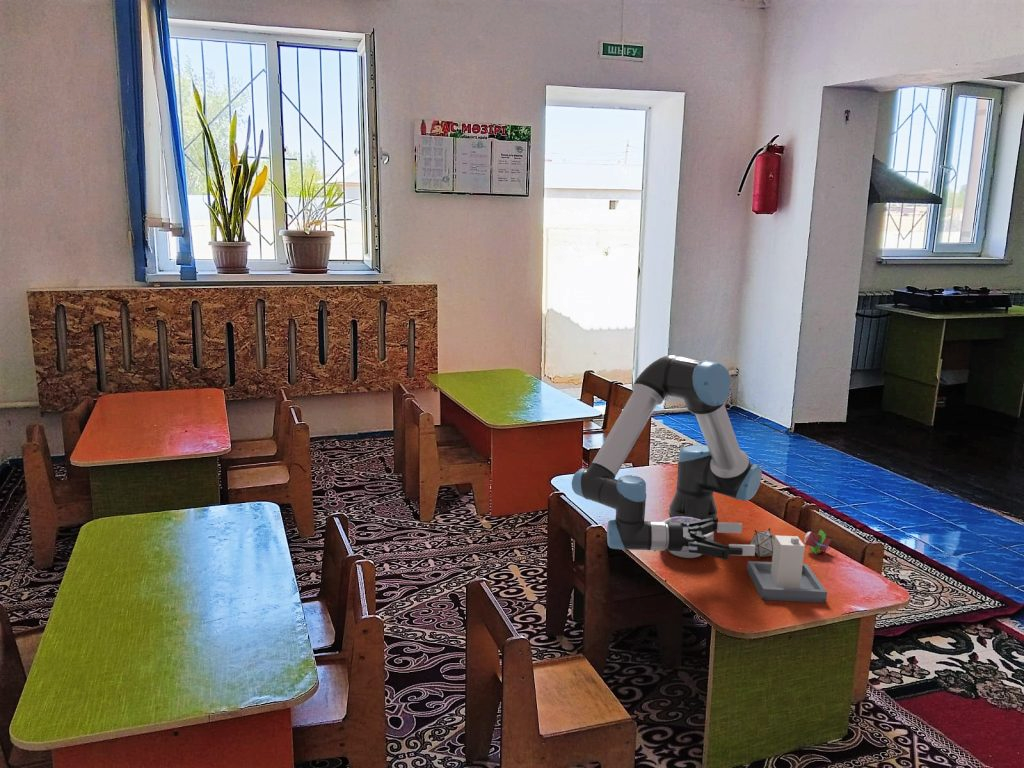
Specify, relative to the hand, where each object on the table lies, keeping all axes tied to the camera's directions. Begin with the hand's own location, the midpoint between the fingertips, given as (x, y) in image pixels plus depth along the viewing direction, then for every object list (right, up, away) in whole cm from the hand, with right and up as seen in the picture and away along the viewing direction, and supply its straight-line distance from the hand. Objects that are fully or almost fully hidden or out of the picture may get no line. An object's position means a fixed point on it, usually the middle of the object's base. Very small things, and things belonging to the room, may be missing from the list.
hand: (748, 538), depth 201 cm
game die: (+10, -9, +20) cm, 24 cm away
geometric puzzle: (+28, -9, +24) cm, 38 cm away
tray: (+10, -13, +2) cm, 17 cm away
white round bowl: (-11, -8, +22) cm, 26 cm away
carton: (+10, -12, +2) cm, 16 cm away
